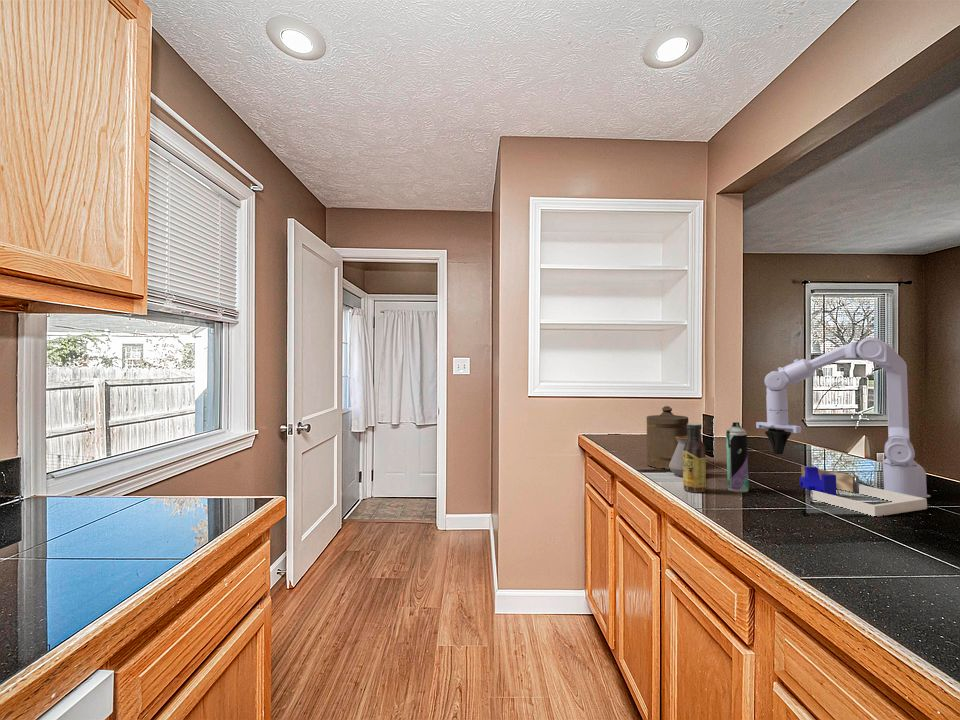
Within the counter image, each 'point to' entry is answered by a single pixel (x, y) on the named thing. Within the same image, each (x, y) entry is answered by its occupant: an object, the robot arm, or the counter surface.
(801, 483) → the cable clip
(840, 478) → the board
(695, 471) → the sauce bottle
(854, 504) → the cream square rimmed piece
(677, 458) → the coffee pot
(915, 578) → the counter surface
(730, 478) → the spray can
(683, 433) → the wooden container
